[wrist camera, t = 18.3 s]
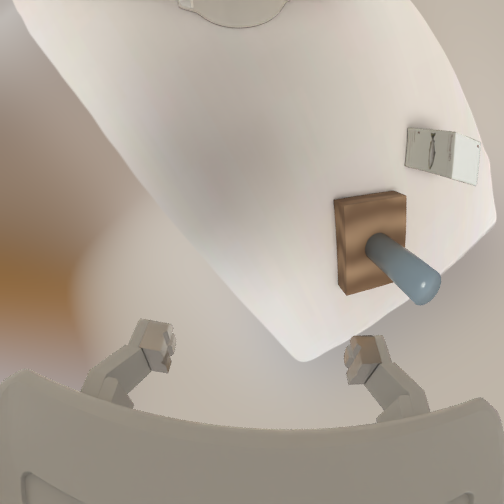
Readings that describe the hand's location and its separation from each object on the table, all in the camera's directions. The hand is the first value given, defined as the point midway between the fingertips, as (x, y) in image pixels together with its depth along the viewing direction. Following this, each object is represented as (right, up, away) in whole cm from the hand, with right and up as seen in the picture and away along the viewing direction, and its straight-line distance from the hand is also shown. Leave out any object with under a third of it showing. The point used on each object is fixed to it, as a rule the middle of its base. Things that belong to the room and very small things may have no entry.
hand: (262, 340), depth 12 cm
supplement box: (+30, +22, +28) cm, 47 cm away
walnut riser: (+20, +6, +34) cm, 40 cm away
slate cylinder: (+20, +5, +30) cm, 37 cm away
